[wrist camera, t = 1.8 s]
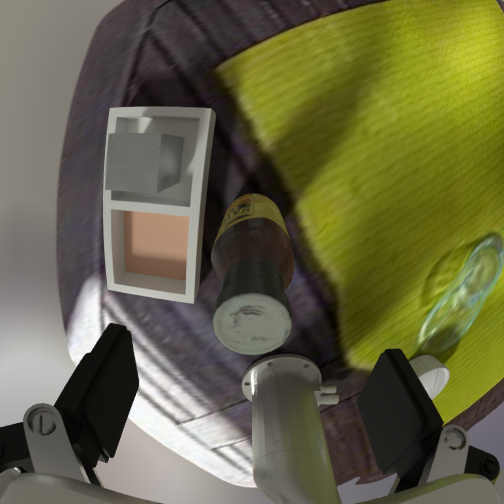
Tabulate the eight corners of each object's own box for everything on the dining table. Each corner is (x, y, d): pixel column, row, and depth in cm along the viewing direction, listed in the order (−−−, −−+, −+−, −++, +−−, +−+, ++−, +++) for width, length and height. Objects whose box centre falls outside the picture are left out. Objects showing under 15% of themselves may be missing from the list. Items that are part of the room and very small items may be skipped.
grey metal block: (184, 137, 27) (161, 133, 20) (179, 182, 29) (156, 193, 22) (141, 135, 27) (108, 133, 20) (138, 179, 29) (105, 189, 21)
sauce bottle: (242, 181, 30) (230, 231, 12) (290, 208, 31) (346, 294, 13) (214, 230, 32) (172, 338, 14) (261, 255, 33) (274, 381, 15)
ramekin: (444, 362, 42) (456, 378, 37) (403, 397, 45) (412, 415, 40) (425, 340, 39) (439, 358, 34) (378, 381, 42) (387, 401, 37)
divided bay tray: (125, 111, 27) (109, 108, 23) (216, 113, 27) (211, 108, 24) (120, 275, 34) (107, 289, 30) (199, 287, 35) (193, 303, 31)
